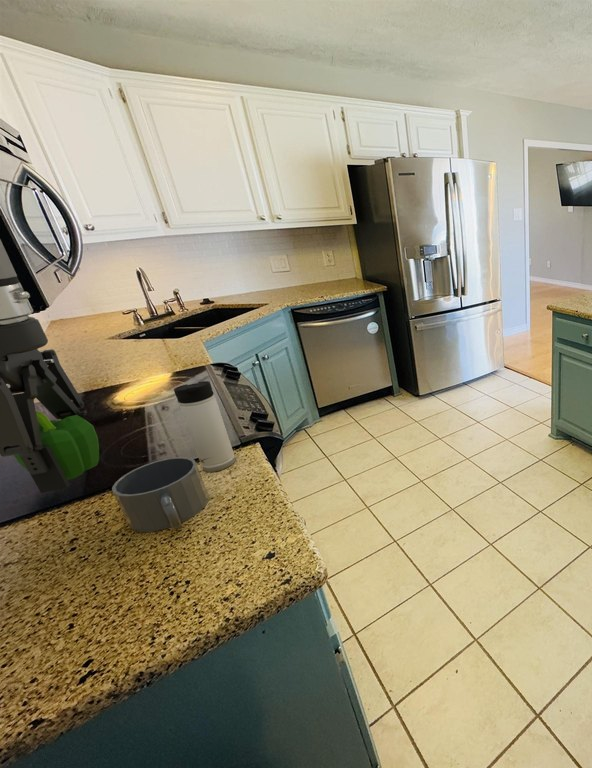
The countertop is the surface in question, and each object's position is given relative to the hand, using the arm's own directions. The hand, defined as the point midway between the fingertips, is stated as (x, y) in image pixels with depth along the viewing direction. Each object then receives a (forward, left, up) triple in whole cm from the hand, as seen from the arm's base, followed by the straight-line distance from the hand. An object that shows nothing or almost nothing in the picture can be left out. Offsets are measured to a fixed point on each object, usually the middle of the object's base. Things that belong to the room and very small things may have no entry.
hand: (71, 471), depth 60 cm
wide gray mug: (+5, +9, -17) cm, 20 cm away
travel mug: (+11, +25, -17) cm, 32 cm away
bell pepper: (0, 0, 0) cm, 1 cm away
